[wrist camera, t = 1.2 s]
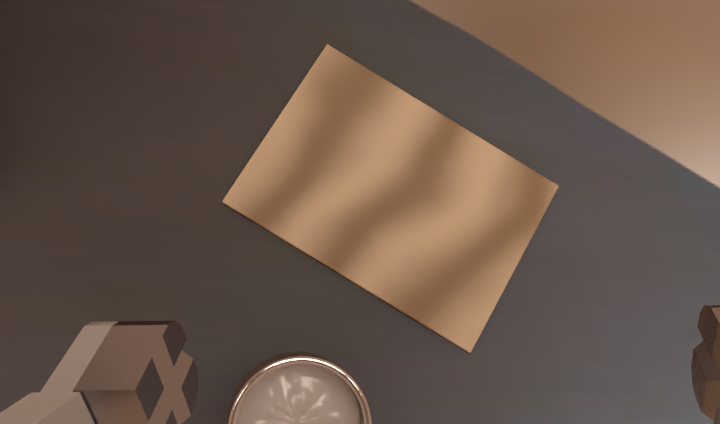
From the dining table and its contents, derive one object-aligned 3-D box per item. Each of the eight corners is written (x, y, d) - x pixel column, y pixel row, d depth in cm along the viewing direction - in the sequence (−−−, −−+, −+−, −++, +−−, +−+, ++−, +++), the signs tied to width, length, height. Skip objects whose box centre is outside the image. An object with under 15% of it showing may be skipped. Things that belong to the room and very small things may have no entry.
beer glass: (257, 338, 46) (254, 330, 32) (355, 371, 47) (396, 379, 32) (220, 441, 45) (198, 484, 30) (321, 475, 45) (348, 533, 30)
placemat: (222, 203, 48) (222, 201, 47) (326, 47, 51) (327, 44, 51) (468, 353, 48) (470, 352, 47) (556, 187, 51) (558, 186, 51)
